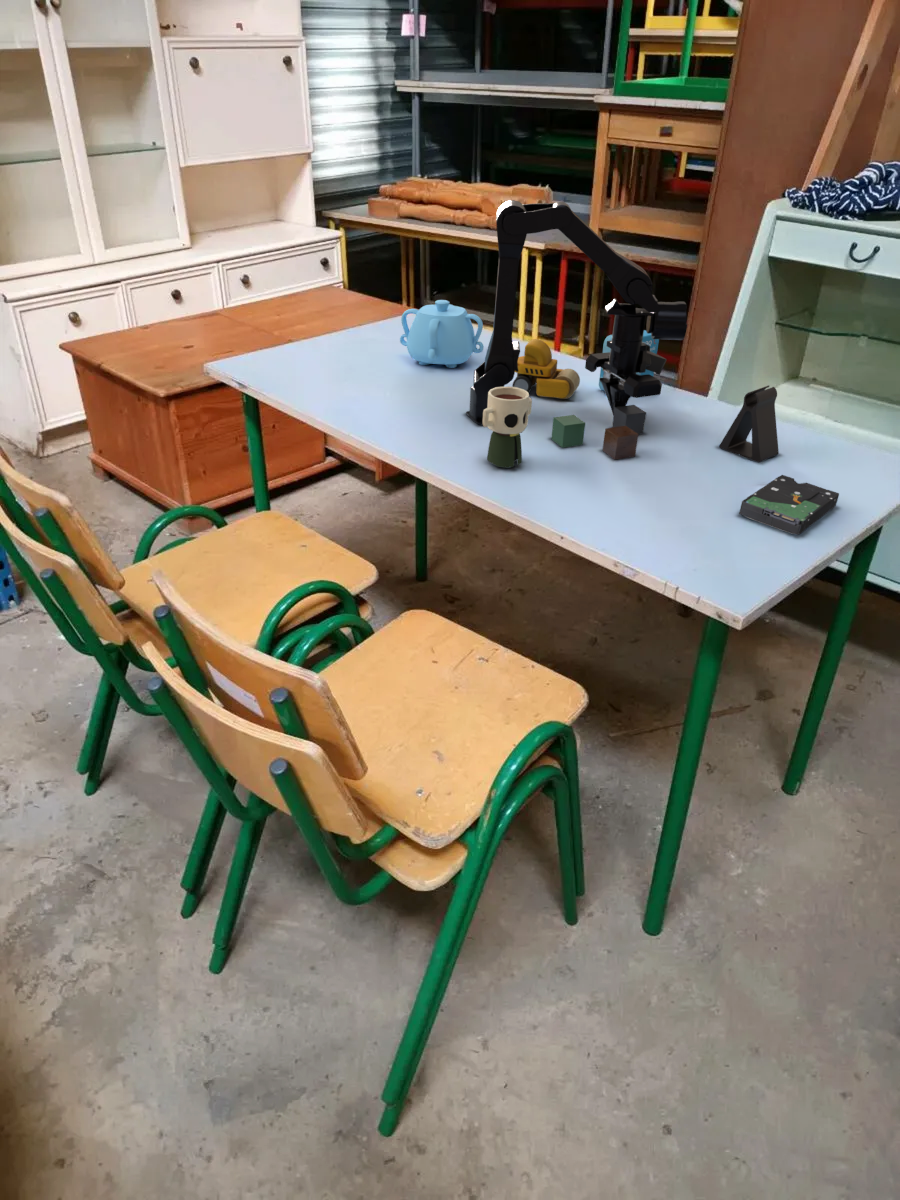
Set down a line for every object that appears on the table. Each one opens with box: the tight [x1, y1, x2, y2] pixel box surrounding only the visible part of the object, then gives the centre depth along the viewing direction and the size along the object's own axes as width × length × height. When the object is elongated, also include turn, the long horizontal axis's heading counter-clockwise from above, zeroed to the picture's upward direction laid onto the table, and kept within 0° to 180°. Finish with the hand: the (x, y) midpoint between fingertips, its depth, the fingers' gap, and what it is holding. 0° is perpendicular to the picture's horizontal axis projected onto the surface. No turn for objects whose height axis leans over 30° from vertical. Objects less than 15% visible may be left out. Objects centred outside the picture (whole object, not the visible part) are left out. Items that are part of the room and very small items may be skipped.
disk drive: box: [738, 474, 840, 536], centre depth 143 cm, size 10×3×15 cm
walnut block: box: [602, 426, 639, 461], centre depth 160 cm, size 4×4×4 cm
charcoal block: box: [611, 404, 647, 435], centre depth 170 cm, size 4×4×4 cm
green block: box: [550, 414, 586, 449], centre depth 164 cm, size 4×4×4 cm
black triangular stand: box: [718, 385, 780, 463], centre depth 161 cm, size 9×6×12 cm, turn 40°
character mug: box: [482, 386, 533, 468], centre depth 153 cm, size 11×7×13 cm, turn 128°
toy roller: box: [512, 338, 581, 400], centre depth 186 cm, size 9×14×10 cm, turn 71°
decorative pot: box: [399, 299, 485, 369], centre depth 201 cm, size 16×16×14 cm
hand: (616, 416), depth 174 cm, fingers closed
